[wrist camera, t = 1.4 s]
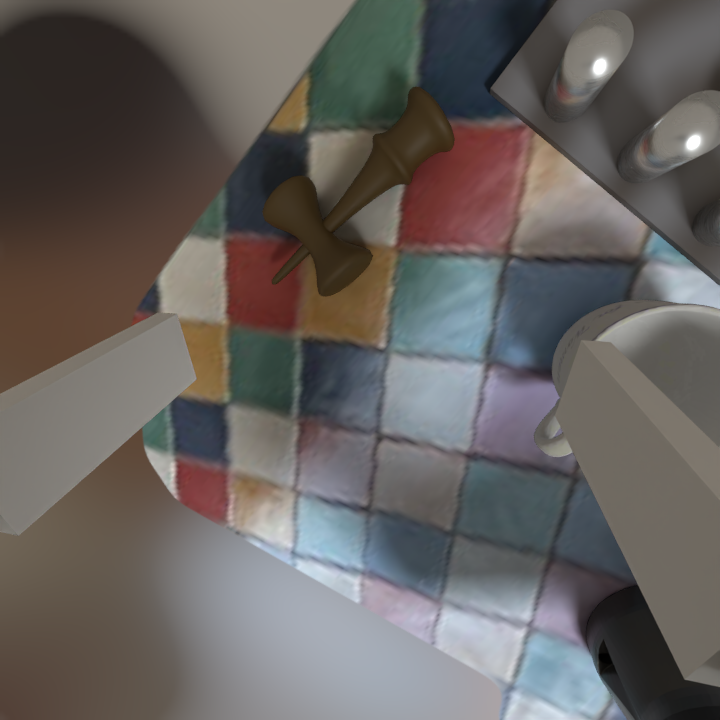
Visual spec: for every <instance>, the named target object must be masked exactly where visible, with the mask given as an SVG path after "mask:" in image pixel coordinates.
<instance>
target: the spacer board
mask: <svg viewBox="0 0 720 720" xmlns="http://www.w3.org/2000/svg"><path fill="white" fill-rule="evenodd" d="M603 10H617V11H620V12H623V13H624V14H625V15H627V16H628V18H629V19H630V20H631V23H632V25H633V30H634V37H633V43H632V46H631V49H630V51H629V53H628V55H627V56H626V58H625V59H624V61H623V62H622V63H621V65H620V66H619V67H618V69H617V70H616V71H615V73H614V74H613V75H612V77H611V78H610V79H609V81H608V82H607V83H606V85H605V86H604V87H603V89H602V90H601V91H600V93H599V94H598V95H597V97H596V98H595V99H594V100H593V102H592V103H591V104H590V106H589V107H588V108H587V110H586V111H585V112H584V113H583V114H582V115H581V116H579V117H578V118H576V119H575V120H572V121H570V122H565V123H560V122H555V121H553V120H552V119H550V118H549V117H548V116H547V114H546V112H545V109H544V98H545V94H546V92H547V89H548V87H549V85H550V83H551V81H552V79H553V76H554V74H555V72H556V70H557V68H558V65H559V63H560V61H561V59H562V57H563V55H564V52H565V50H566V48H567V46H568V44H569V42H570V39H571V37H572V35H573V34H574V32H575V30H576V29H577V28H578V26H579V25H580V24H581V23H582V22H583V21H584V20H586V19H587V18H588V17H590V16H591V15H593V14H595V13H597V12H600V11H603ZM705 90H715V91H719V92H720V0H557V1H556V2H555V4H554V5H553V6H552V8H551V9H550V10H549V12H548V13H547V14H546V16H545V17H544V18H543V20H542V21H541V22H540V24H539V25H538V26H537V27H536V29H535V30H534V31H533V33H532V34H531V35H530V37H529V38H528V39H527V41H526V42H525V43H524V45H523V46H522V47H521V49H520V50H519V51H518V53H517V54H516V55H515V57H514V58H513V59H512V61H511V62H510V63H509V65H508V66H507V67H506V69H505V70H504V71H503V72H502V74H501V75H500V76H499V78H498V79H497V80H496V82H495V83H494V84H493V86H492V87H491V88H490V94H491V95H492V96H493V97H494V98H496V99H497V100H498V101H499V102H500V103H501V104H503V105H504V106H505V107H506V108H507V109H509V110H510V111H511V112H512V113H513V114H515V115H516V116H517V117H518V118H519V119H521V120H522V121H523V122H524V123H525V124H527V125H528V126H529V127H530V128H531V129H533V130H534V131H535V132H536V133H537V134H539V135H540V136H541V137H542V138H543V139H545V140H546V141H547V142H548V143H549V144H551V145H552V146H553V147H554V148H555V149H557V150H558V151H559V152H560V153H561V154H563V155H564V156H565V157H566V158H567V159H569V160H570V161H571V162H572V163H573V164H575V165H576V166H577V167H578V168H579V169H581V170H582V171H583V172H584V173H585V174H587V175H588V176H589V177H590V178H591V179H593V180H594V181H595V182H596V183H597V184H599V185H600V186H601V187H602V188H603V189H605V190H606V191H607V192H608V193H609V194H611V195H612V196H613V197H614V198H615V199H617V200H618V201H619V202H620V203H621V204H623V205H624V206H625V207H626V208H627V209H629V210H630V211H631V212H632V213H633V214H635V215H636V216H637V217H638V218H639V219H641V220H642V221H643V222H644V223H645V224H647V225H648V226H649V227H650V228H651V229H653V230H654V231H655V232H656V233H657V234H658V235H660V236H661V237H662V238H663V239H664V240H666V241H667V242H668V243H669V244H670V245H672V246H673V247H674V248H675V249H676V250H678V251H679V252H680V253H681V254H682V255H684V256H685V257H686V258H687V259H688V260H690V261H691V262H692V263H693V264H694V265H696V266H697V267H698V268H699V269H700V270H702V271H703V272H704V273H705V274H706V275H708V276H709V277H710V278H711V279H712V280H714V281H715V282H716V283H717V284H718V285H720V246H707V245H704V244H702V243H700V242H699V241H697V240H696V238H695V237H694V235H693V232H692V224H693V221H694V218H695V216H696V215H697V213H698V212H699V211H700V210H701V209H702V208H703V207H704V206H705V205H707V204H709V203H710V202H712V201H715V200H717V199H720V144H719V145H718V146H717V147H715V148H714V149H712V150H711V151H709V152H707V153H705V154H703V155H701V156H699V157H697V158H695V159H693V160H691V161H689V162H687V163H685V164H682V165H680V166H678V167H676V168H674V169H672V170H670V171H668V172H666V173H664V174H662V175H660V176H658V177H656V178H654V179H652V180H650V181H647V182H644V183H630V182H627V181H625V180H624V179H623V178H622V177H621V176H620V175H619V173H618V170H617V159H618V156H619V154H620V152H621V150H622V149H623V147H624V146H625V145H626V144H627V143H628V142H629V141H631V140H632V139H633V138H634V137H636V136H637V135H638V134H640V133H641V132H642V131H643V130H645V129H646V128H647V127H648V126H650V125H651V124H652V123H654V122H655V121H656V120H657V119H659V118H660V117H661V116H662V115H664V114H665V113H666V112H667V111H669V110H670V109H671V108H673V107H674V106H675V105H676V104H678V103H679V102H680V101H681V100H683V99H684V98H686V97H688V96H690V95H692V94H694V93H697V92H700V91H705Z"/></svg>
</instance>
